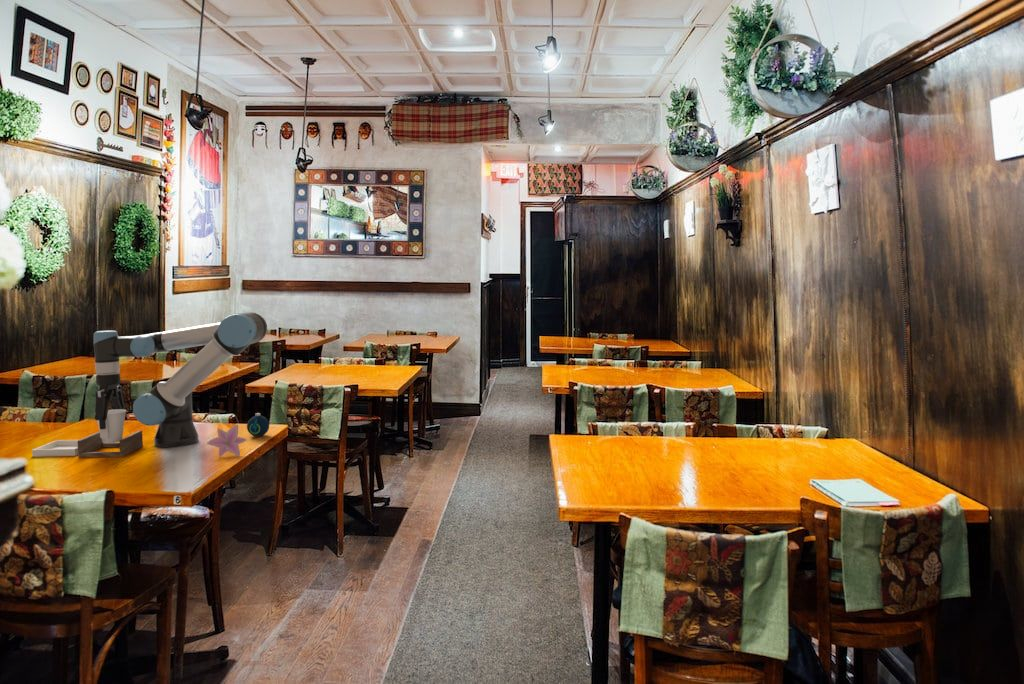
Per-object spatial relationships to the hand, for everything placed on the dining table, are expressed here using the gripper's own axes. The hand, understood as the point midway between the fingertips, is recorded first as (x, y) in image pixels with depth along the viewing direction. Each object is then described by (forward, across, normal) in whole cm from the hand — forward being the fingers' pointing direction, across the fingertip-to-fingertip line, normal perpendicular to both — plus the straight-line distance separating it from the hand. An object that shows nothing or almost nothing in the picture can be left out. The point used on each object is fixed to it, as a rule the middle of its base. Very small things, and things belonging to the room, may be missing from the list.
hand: (111, 434), depth 237 cm
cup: (+3, 0, 0) cm, 3 cm away
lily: (+7, +6, +42) cm, 44 cm away
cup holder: (+6, 0, 0) cm, 6 cm away
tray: (+6, -2, -18) cm, 19 cm away
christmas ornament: (+7, -21, +46) cm, 51 cm away
